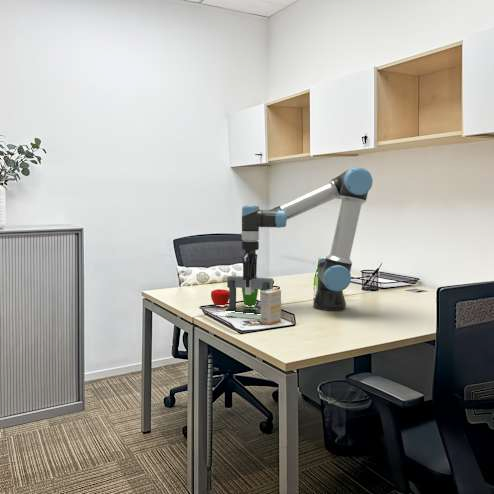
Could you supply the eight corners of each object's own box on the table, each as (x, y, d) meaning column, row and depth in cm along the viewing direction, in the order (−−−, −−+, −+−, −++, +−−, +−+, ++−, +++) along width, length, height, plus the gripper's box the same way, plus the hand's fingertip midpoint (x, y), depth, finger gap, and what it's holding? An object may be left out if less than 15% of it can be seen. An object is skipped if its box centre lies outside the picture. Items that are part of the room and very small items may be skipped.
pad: (269, 317, 214) (269, 315, 214) (264, 320, 208) (264, 319, 208) (222, 312, 222) (222, 311, 222) (215, 315, 215) (215, 314, 215)
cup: (257, 309, 230) (258, 285, 229) (238, 308, 232) (238, 284, 231) (261, 305, 239) (261, 282, 238) (242, 304, 240) (242, 281, 240)
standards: (274, 313, 222) (274, 281, 221) (269, 316, 216) (270, 283, 215) (229, 309, 229) (230, 278, 228) (224, 311, 223) (224, 280, 222)
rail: (272, 288, 220) (272, 278, 219) (270, 289, 217) (270, 279, 216) (230, 285, 227) (230, 275, 226) (227, 286, 223) (227, 276, 223)
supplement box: (271, 319, 210) (272, 288, 208) (281, 321, 207) (281, 289, 205) (259, 323, 203) (260, 291, 202) (269, 325, 200) (269, 292, 199)
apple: (208, 305, 238) (208, 288, 237) (226, 304, 241) (226, 287, 240) (213, 308, 229) (213, 292, 228) (232, 307, 232) (232, 291, 232)
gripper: (248, 239, 229) (248, 290, 231) (235, 241, 213) (235, 296, 215) (264, 239, 226) (263, 291, 228) (252, 242, 211) (251, 297, 213)
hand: (249, 293), depth 222 cm, fingers closed on rail, 3 cm apart
